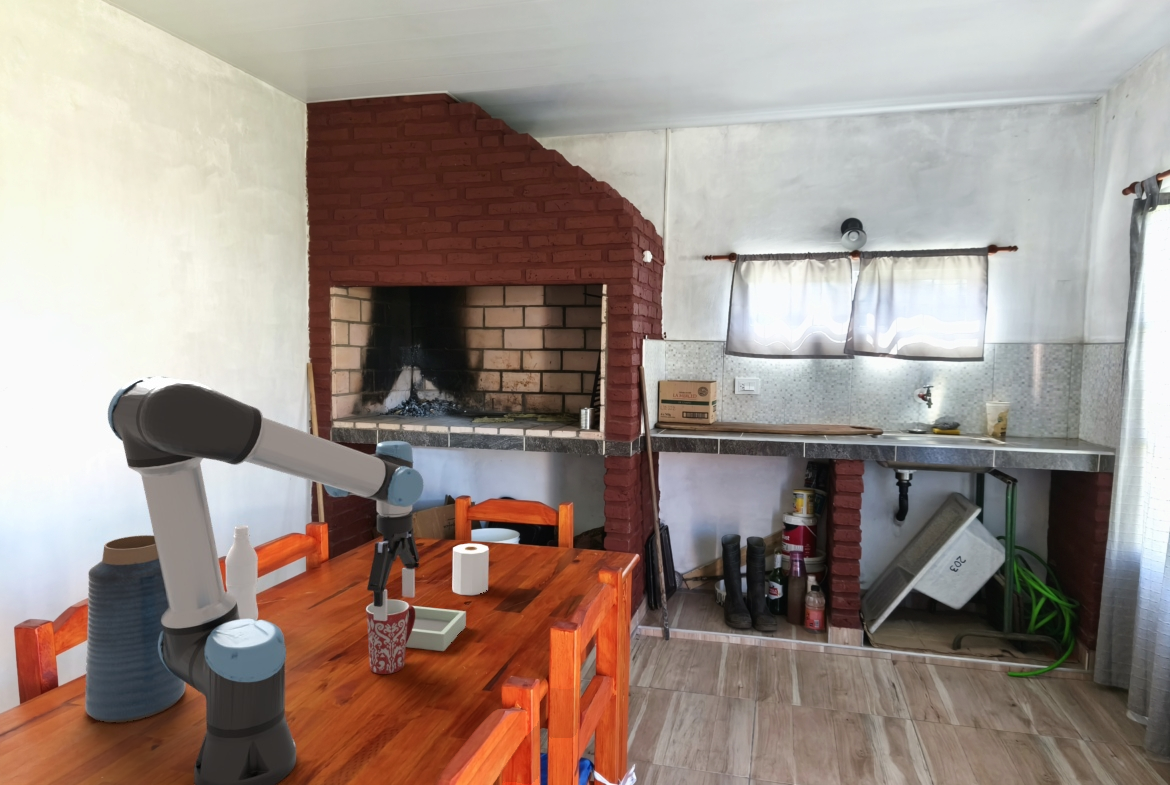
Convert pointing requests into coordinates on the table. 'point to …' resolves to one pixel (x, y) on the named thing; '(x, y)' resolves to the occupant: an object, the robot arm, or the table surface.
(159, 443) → the robot arm
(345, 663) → the table surface
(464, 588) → the toilet paper
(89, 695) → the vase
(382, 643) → the mug
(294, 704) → the table surface
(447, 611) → the tray
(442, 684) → the table surface
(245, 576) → the water bottle
